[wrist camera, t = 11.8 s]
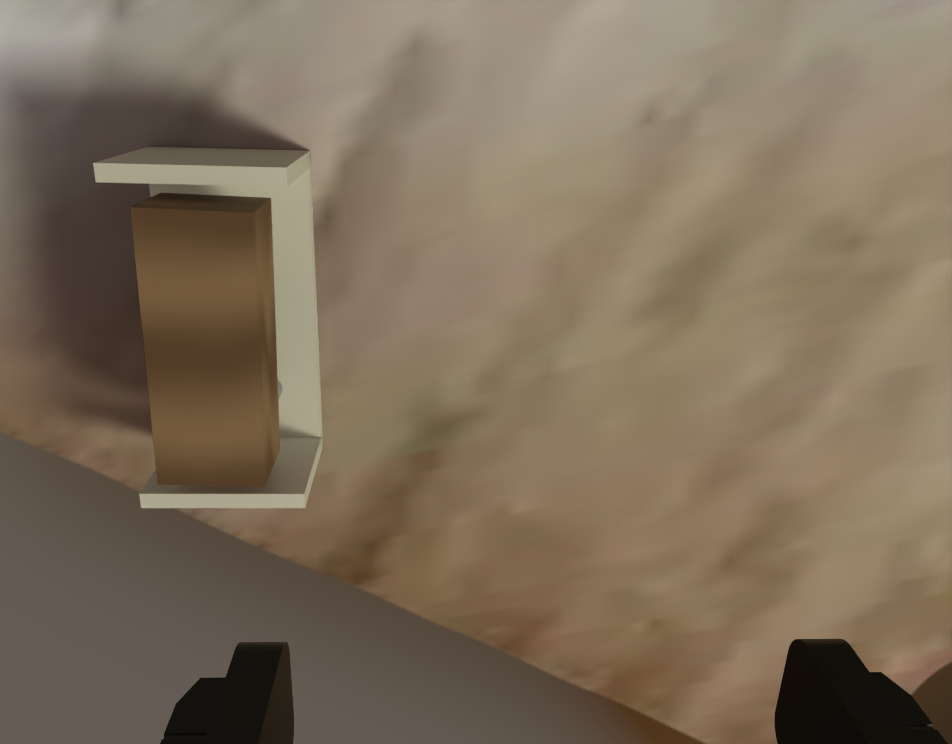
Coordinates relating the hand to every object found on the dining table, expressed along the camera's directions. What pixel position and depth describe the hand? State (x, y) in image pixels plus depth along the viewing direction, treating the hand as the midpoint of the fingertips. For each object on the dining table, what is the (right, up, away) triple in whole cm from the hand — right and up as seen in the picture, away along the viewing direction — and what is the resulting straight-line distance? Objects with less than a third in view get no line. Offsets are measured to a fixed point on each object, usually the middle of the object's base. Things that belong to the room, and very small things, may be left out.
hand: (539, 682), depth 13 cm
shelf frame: (-14, +9, +30) cm, 34 cm away
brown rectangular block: (-13, +7, +27) cm, 31 cm away
